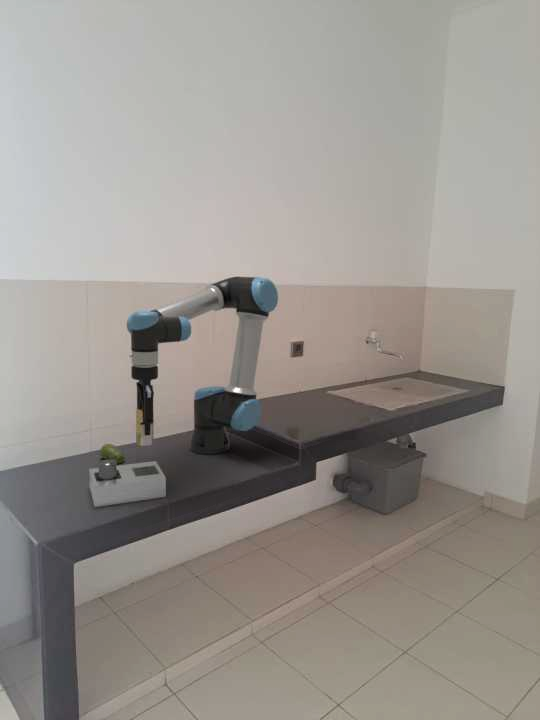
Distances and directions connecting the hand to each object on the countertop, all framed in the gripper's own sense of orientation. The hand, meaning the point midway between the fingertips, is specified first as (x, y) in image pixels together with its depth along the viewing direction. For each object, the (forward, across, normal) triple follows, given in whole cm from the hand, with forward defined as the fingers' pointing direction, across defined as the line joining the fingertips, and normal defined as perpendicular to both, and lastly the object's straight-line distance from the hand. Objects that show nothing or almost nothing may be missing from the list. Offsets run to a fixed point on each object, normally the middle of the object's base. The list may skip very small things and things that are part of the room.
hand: (145, 441), depth 156 cm
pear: (+15, -28, -6) cm, 33 cm away
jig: (+15, 0, -5) cm, 16 cm away
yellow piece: (0, 0, 0) cm, 0 cm away
